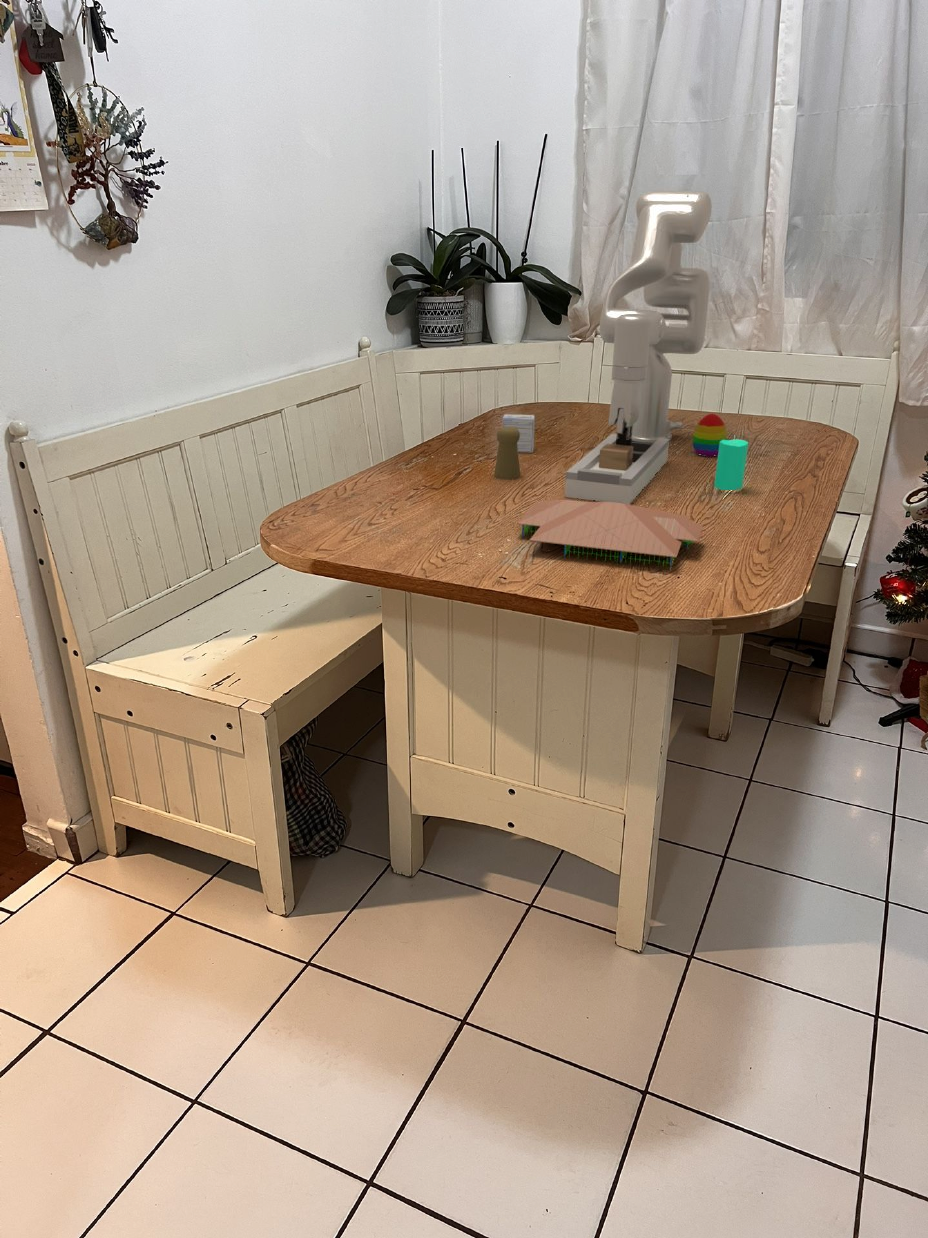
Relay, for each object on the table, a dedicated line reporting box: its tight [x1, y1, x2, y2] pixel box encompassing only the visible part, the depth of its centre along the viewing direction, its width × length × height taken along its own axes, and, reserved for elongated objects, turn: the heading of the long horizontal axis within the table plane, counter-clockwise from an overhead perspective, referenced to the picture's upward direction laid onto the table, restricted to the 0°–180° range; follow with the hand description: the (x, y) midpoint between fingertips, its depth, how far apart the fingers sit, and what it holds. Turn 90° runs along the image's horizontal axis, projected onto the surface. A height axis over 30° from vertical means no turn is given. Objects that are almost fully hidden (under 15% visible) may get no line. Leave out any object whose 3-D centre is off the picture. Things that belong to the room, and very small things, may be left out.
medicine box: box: [501, 413, 536, 454], centre depth 231 cm, size 8×4×9 cm, turn 84°
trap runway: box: [564, 433, 670, 505], centre depth 209 cm, size 38×14×6 cm, turn 157°
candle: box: [713, 434, 749, 490], centre depth 201 cm, size 6×6×12 cm
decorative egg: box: [692, 413, 728, 456], centre depth 229 cm, size 8×8×10 cm
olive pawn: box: [493, 427, 521, 480], centre depth 209 cm, size 6×6×11 cm
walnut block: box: [599, 444, 633, 471], centre depth 204 cm, size 6×6×4 cm
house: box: [516, 499, 704, 567], centre depth 170 cm, size 23×33×8 cm
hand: (622, 455), depth 210 cm, fingers closed
